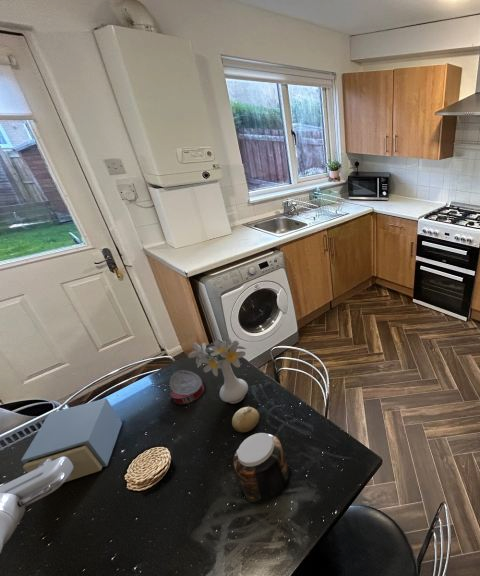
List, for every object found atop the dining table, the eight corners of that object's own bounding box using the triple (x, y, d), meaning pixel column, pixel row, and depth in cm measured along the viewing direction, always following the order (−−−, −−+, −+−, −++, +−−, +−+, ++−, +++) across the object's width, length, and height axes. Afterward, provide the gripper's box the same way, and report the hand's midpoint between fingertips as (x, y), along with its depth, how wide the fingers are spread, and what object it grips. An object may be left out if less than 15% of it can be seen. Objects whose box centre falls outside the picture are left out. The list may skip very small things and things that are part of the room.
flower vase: (218, 383, 117) (198, 330, 105) (266, 384, 116) (251, 331, 104) (198, 412, 106) (173, 356, 94) (251, 414, 105) (233, 358, 93)
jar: (270, 511, 79) (258, 477, 72) (234, 494, 83) (219, 460, 75) (296, 467, 89) (288, 434, 81) (263, 454, 92) (252, 421, 85)
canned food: (197, 391, 120) (203, 367, 119) (204, 404, 113) (210, 379, 112) (162, 394, 112) (168, 369, 111) (167, 409, 105) (173, 382, 104)
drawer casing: (107, 466, 90) (87, 440, 84) (45, 486, 85) (20, 460, 79) (122, 422, 102) (106, 397, 97) (69, 438, 98) (49, 413, 92)
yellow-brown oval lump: (249, 439, 97) (244, 424, 93) (229, 432, 99) (223, 417, 96) (265, 418, 103) (261, 403, 100) (246, 412, 106) (241, 397, 102)
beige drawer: (95, 486, 84) (77, 465, 79) (34, 507, 79) (11, 485, 75) (116, 428, 99) (102, 407, 94) (66, 443, 95) (49, 422, 90)
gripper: (50, 472, 60) (72, 436, 72) (-114, 554, 50) (-59, 497, 62) (68, 495, 62) (86, 457, 73) (-87, 579, 52) (-38, 520, 64)
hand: (19, 476), depth 68 cm, fingers open, 8 cm apart
